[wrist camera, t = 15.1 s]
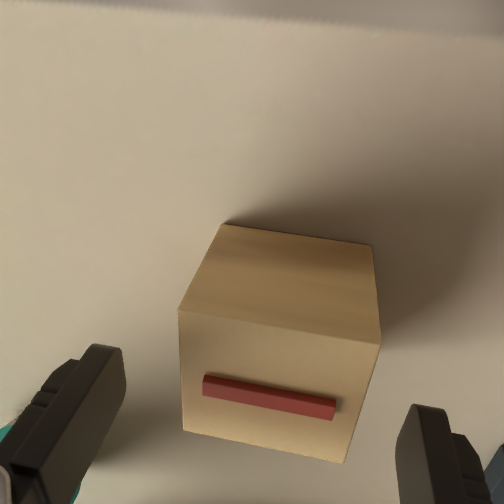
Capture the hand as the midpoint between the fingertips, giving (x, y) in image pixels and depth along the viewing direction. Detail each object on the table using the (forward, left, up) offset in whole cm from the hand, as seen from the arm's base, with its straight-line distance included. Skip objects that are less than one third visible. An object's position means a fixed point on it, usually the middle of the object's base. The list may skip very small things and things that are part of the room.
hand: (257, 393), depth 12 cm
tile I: (0, 0, -4) cm, 4 cm away
